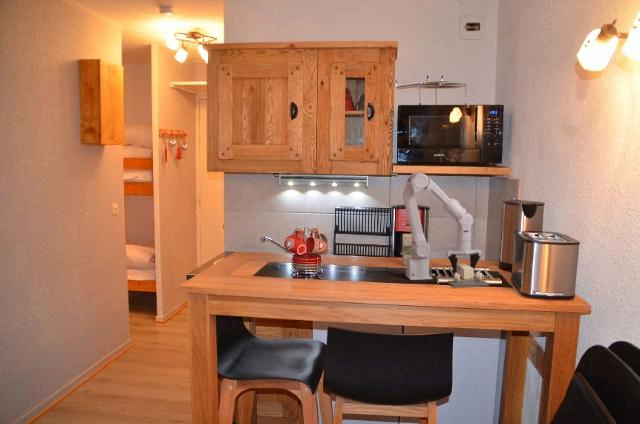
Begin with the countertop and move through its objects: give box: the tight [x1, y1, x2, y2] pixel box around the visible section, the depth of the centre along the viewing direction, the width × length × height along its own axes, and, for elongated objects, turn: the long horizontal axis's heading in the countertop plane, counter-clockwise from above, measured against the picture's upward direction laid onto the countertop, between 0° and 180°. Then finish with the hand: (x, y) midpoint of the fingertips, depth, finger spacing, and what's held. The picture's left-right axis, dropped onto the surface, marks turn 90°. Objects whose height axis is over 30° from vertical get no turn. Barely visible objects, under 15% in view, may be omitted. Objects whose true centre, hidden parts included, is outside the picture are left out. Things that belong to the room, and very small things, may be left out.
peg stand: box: [447, 271, 490, 289], centre depth 196 cm, size 14×7×4 cm, turn 96°
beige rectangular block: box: [457, 262, 475, 279], centre depth 208 cm, size 11×4×5 cm, turn 7°
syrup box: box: [401, 233, 414, 267], centre depth 232 cm, size 6×6×14 cm
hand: (463, 272), depth 208 cm, fingers open, 7 cm apart
